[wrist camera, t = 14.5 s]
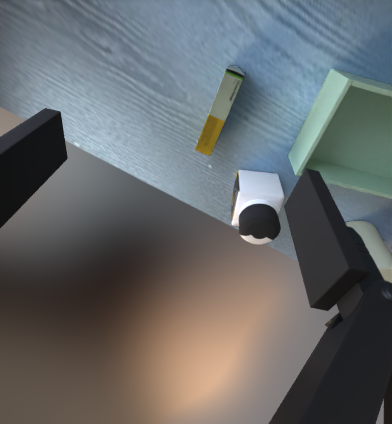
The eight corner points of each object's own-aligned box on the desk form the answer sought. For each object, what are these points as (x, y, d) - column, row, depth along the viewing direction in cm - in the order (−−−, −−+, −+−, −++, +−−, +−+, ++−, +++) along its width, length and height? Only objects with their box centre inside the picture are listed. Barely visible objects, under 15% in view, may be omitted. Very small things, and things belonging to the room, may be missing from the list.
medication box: (228, 62, 35) (226, 66, 32) (247, 70, 35) (246, 74, 32) (198, 141, 42) (194, 150, 39) (214, 147, 42) (210, 157, 39)
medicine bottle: (237, 168, 45) (240, 211, 36) (278, 172, 45) (291, 217, 35) (231, 201, 49) (232, 247, 40) (268, 205, 49) (277, 252, 40)
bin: (287, 155, 43) (295, 175, 38) (331, 67, 34) (348, 78, 29) (408, 186, 44) (431, 209, 39) (478, 109, 36) (518, 126, 31)
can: (319, 233, 52) (339, 282, 43) (367, 212, 48) (401, 262, 39) (337, 258, 56) (359, 308, 47) (383, 241, 52) (417, 293, 43)
